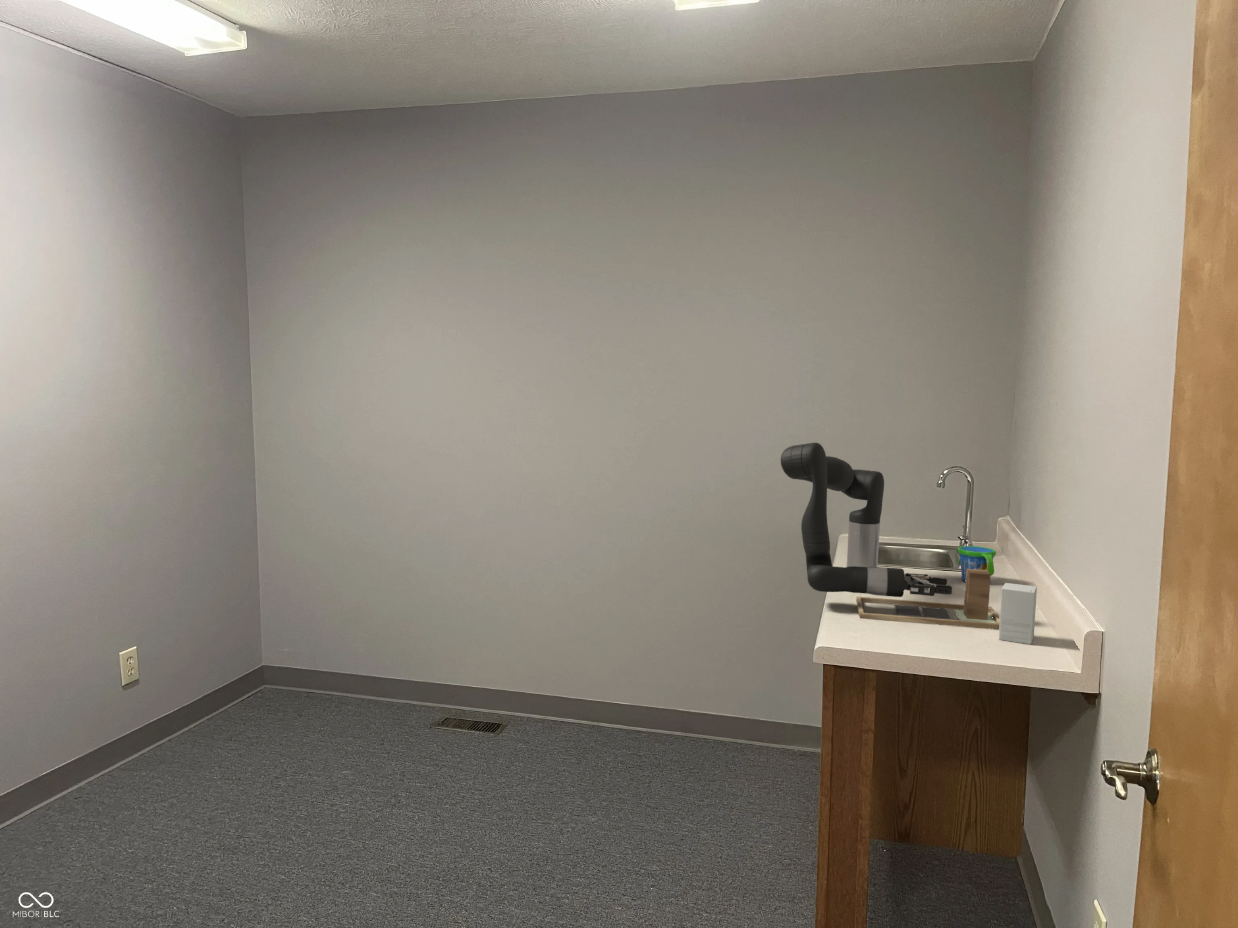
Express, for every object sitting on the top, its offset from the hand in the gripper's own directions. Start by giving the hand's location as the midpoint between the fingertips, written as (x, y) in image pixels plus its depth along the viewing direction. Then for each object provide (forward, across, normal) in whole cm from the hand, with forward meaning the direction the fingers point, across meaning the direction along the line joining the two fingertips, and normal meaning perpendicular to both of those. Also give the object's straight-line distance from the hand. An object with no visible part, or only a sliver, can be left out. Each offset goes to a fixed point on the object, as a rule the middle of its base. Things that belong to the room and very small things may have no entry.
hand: (949, 586), depth 227 cm
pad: (+7, 0, +8) cm, 10 cm away
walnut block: (+7, 0, +8) cm, 10 cm away
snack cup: (+15, +45, +8) cm, 48 cm away
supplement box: (+13, -16, +8) cm, 23 cm away
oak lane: (-5, 0, +8) cm, 9 cm away
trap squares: (-5, 0, +8) cm, 9 cm away
